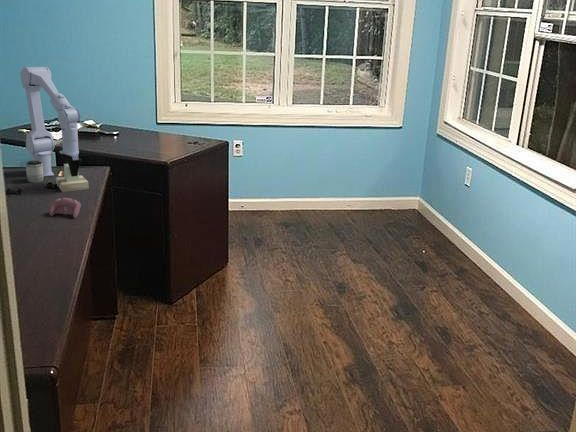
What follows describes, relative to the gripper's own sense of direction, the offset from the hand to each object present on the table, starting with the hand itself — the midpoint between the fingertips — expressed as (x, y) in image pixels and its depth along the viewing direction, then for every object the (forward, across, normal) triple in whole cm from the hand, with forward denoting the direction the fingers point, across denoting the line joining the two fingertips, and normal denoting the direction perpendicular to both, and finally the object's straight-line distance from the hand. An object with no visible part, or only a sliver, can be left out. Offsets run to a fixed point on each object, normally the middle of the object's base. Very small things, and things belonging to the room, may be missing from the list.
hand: (71, 173), depth 238 cm
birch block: (+6, 0, 0) cm, 6 cm away
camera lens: (+6, -13, -11) cm, 18 cm away
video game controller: (+6, +30, -10) cm, 33 cm away
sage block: (+3, 0, 0) cm, 3 cm away
